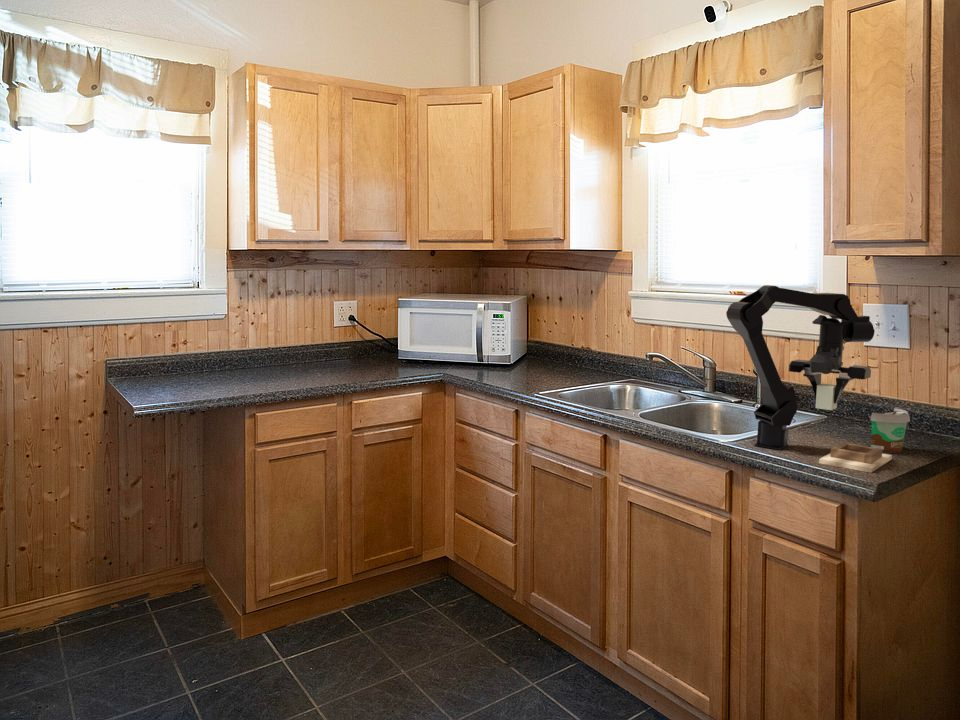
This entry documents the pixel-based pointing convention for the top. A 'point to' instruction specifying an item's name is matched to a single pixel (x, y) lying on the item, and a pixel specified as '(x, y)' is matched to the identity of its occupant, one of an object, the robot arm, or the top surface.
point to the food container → (889, 430)
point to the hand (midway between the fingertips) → (826, 402)
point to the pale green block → (825, 396)
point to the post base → (856, 457)
